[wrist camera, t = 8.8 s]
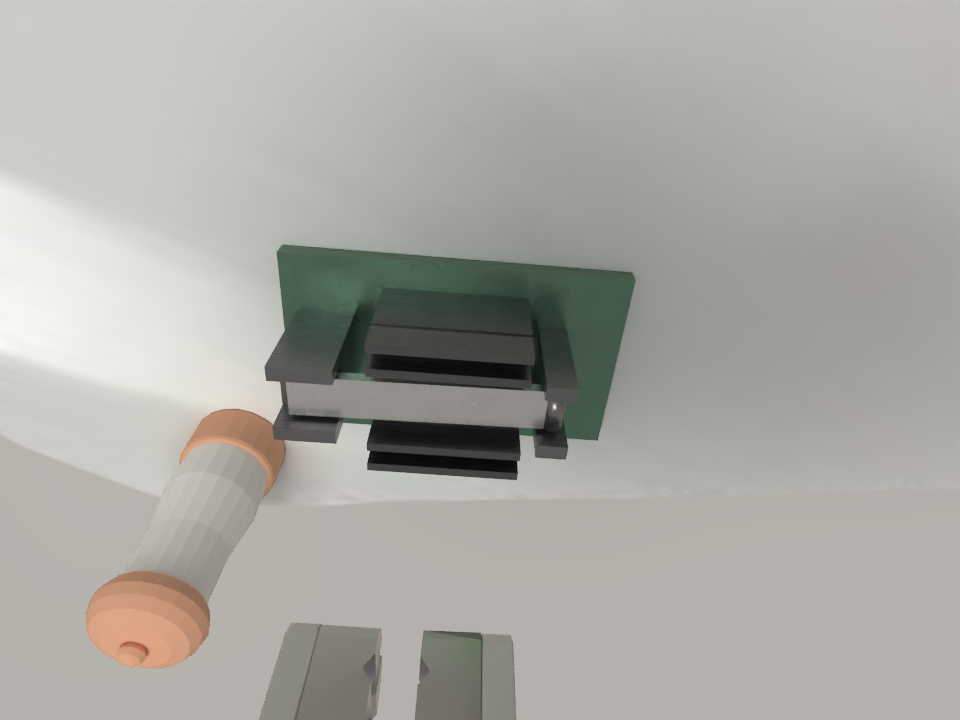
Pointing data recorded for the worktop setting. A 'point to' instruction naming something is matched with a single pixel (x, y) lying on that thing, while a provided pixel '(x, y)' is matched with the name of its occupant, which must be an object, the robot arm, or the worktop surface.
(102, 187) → the worktop surface
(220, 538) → the pepper shaker
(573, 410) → the cooling board
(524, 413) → the steel strap
